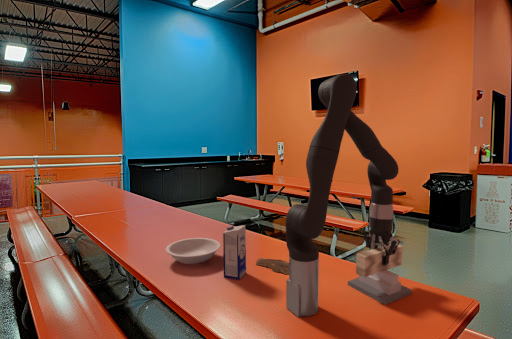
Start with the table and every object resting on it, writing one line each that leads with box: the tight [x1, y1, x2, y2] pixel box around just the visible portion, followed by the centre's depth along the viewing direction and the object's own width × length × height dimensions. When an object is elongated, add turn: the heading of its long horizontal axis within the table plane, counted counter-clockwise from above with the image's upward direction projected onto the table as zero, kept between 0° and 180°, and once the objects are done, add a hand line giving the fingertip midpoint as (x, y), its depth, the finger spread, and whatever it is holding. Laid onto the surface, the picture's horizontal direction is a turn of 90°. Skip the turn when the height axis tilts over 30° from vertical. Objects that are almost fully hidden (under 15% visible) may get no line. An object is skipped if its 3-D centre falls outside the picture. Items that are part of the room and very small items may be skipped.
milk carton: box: [222, 224, 247, 281], centre depth 122 cm, size 7×7×20 cm
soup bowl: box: [165, 237, 222, 265], centre depth 138 cm, size 24×24×7 cm
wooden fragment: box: [255, 257, 289, 276], centre depth 130 cm, size 26×11×1 cm, turn 47°
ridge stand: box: [347, 269, 413, 306], centre depth 110 cm, size 14×16×8 cm
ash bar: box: [355, 244, 404, 277], centre depth 110 cm, size 20×4×7 cm, turn 120°
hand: (379, 262), depth 110 cm, fingers closed on ash bar, 3 cm apart
